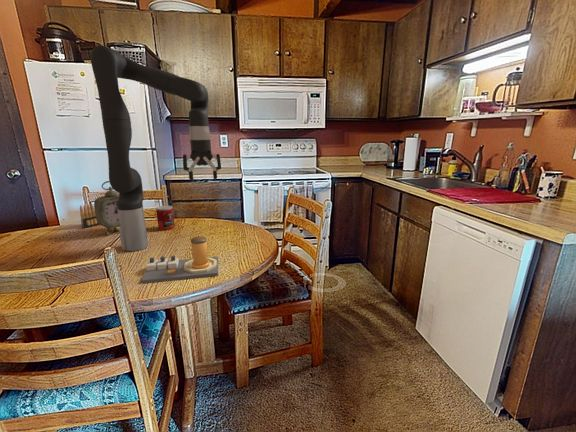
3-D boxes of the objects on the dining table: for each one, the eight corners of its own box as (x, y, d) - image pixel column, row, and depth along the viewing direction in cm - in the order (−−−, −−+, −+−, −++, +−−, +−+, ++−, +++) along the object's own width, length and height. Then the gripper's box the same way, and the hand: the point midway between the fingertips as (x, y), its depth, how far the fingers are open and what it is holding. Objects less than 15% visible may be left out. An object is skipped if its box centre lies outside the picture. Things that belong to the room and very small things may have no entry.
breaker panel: (141, 283, 95) (139, 271, 94) (151, 264, 109) (149, 254, 107) (218, 275, 100) (217, 264, 99) (218, 258, 113) (217, 248, 112)
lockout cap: (188, 267, 104) (185, 240, 101) (199, 261, 109) (197, 235, 106) (202, 270, 102) (199, 243, 99) (213, 263, 107) (211, 237, 104)
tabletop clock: (105, 237, 138) (95, 183, 131) (97, 233, 143) (87, 182, 136) (136, 229, 149) (129, 179, 142) (127, 226, 154) (120, 178, 147)
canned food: (165, 231, 145) (162, 209, 142) (155, 228, 149) (152, 207, 146) (178, 227, 152) (175, 206, 149) (168, 225, 156) (165, 204, 153)
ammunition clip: (84, 228, 150) (79, 205, 147) (82, 228, 151) (77, 205, 148) (105, 223, 159) (101, 201, 156) (103, 222, 160) (99, 201, 157)
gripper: (179, 139, 109) (183, 182, 113) (219, 138, 112) (222, 181, 116) (181, 138, 116) (186, 180, 120) (219, 138, 119) (221, 178, 123)
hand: (203, 180), depth 118 cm, fingers open, 8 cm apart
